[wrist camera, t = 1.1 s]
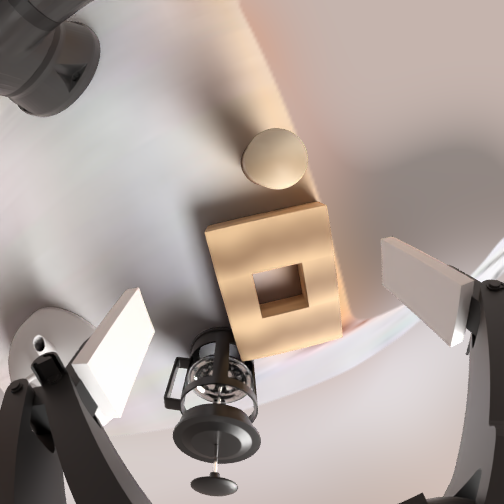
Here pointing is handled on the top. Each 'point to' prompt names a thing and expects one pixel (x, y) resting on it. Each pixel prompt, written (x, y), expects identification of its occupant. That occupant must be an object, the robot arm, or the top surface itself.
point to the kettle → (48, 343)
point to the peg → (275, 159)
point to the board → (272, 257)
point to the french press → (215, 409)
